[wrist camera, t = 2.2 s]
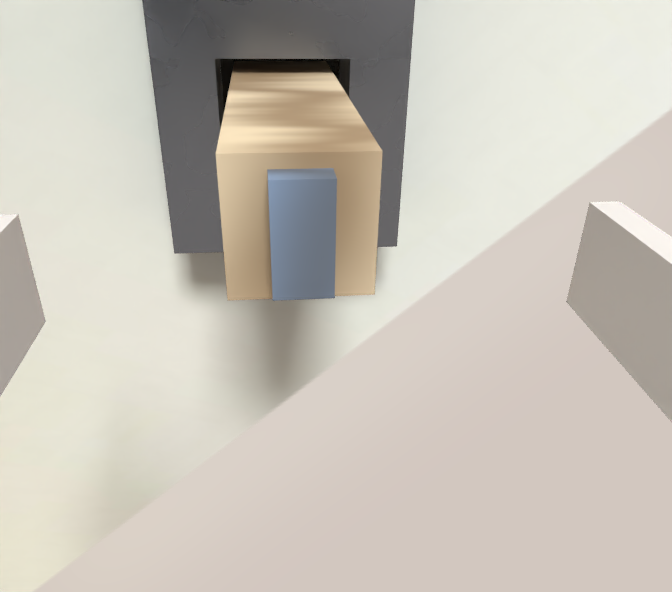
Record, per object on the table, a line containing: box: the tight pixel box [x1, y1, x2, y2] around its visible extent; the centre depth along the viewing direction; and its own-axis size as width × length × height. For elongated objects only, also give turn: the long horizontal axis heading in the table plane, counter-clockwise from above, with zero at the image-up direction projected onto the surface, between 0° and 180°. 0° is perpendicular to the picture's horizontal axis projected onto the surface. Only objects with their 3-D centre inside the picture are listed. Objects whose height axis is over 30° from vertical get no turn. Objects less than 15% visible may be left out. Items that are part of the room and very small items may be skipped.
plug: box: [216, 61, 383, 301], centre depth 21 cm, size 4×4×15 cm
